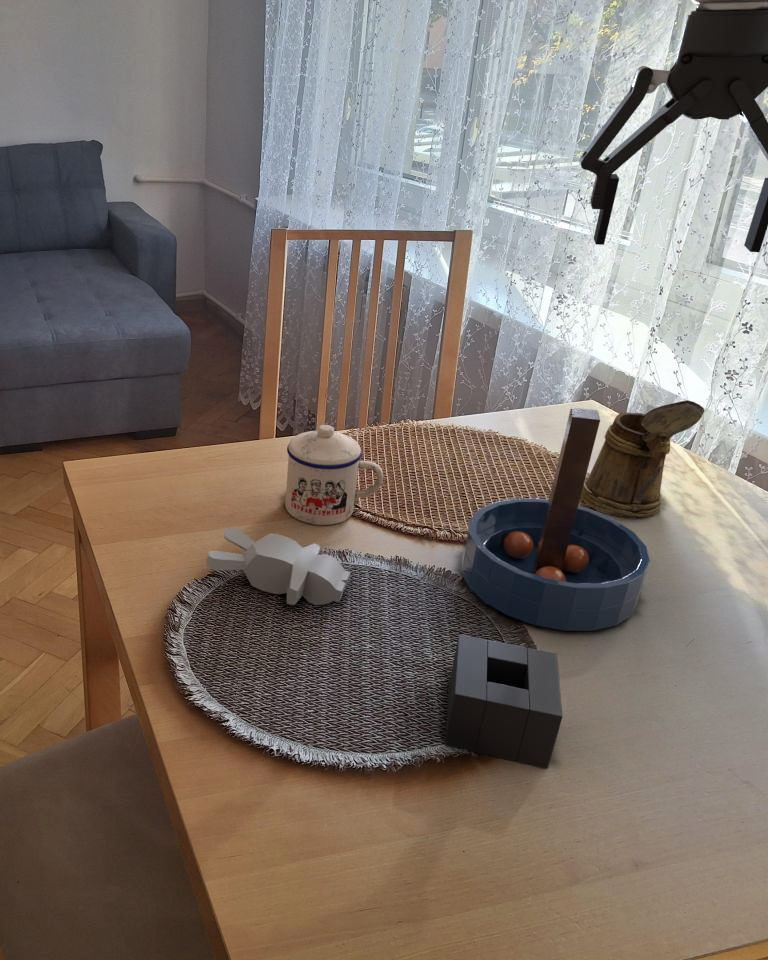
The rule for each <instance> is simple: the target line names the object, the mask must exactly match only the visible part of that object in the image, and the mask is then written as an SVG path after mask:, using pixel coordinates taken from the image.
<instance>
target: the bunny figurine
mask: <svg viewBox="0 0 768 960" xmlns="http://www.w3.org/2000/svg"><path fill="white" fill-rule="evenodd" d="M223 537H224V539H225V540H226V541H227V542H229V543H231V544H232V545H235V546H237V547H238V548H240V549H241V550H244V552H242V553H237V552H230V551H224V550H211V551H209V552H208V553H207V556H206V561H205V566H206V568H208V569H209V570H213V571H243V572H244V574H245V576H246V579H247V580H248V581H249V584H250V586H252V587H254V588H256V589H258V590H260V591H263V592H266V593H269V594H274V595H282V594H286V604H287V605H291V606H292V605H293V606H295V605H296V604H297V603H298V601H300V599H301V598H302V597H303V598H304V599H305V600H306V601H307V603H309V604H312V605H315V606H324V605H326V604H327V605H328V604H329V603H331V602H335V603H340V602H341V599H342V597H343V595H344V592H345V590H346V587H347V585H348V584H349V579H350V575H351V571H348V570H346V569H345V568H344V567H343V565H342V564H341V562H340V561H339V560H338V559H336V558H335V557H334V556H333V555H330V554H327V553H323V554H320V552H321V548H322V546H320V545H319V544H317V543H315V542H313V543H311V544H309V545H306V546H302V545H300V544H299V543H298V542H297V541H296V540H294V539H293V538H290V537H289V536H285V535H282V534H279V533H272V532H270V533H268V534H266V535H265V536H263V537H262V538H260V539H258V540H257V541H254V540H253V539H252V538H251V537H249V536H248V535H247V534H246V533H244V532H242V531H241V530H240V529H238V528H237V527H233V526H231V527H227V528H226V529H224V532H223Z"/></svg>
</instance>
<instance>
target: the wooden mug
mask: <svg viewBox="0 0 768 960" xmlns="http://www.w3.org/2000/svg"><path fill="white" fill-rule="evenodd" d="M705 411H706V410H705V408H704V407H703V406H701V404H698V403H697V402H696V401H692V400H688V399H687V400H682V401H677V402H673V403H668V404H664V405H661V406H657V407H654V408H653V409H650V410H649V411H648V412H646V413H640V412H621V413H618V414H617V415H616V416H615V417H614V419H613V421H612V423H611V424H610V425H609V426H608V428H607V430H606V432H605V435H604V442H603V445H602V447H601V449H600V450H599V453H598V456H597V458H596V459H595V462H594V464H593V467H592V469H591V471H590V473H589V475H588V477H587V478H586V479H585V482H584V486H583V489H582V493H581V497H580V500H582V501H583V502H584V503H585V504H587V505H588V506H589V507H590V508H592V509H593V510H594V511H597V512H599V513H602V514H604V515H607V516H608V515H609V516H613V517H617V518H623V519H645V518H649V517H653V516H654V515H656V514H658V513H659V512H660V511H661V505H662V501H663V500H662V498H663V496H662V493H661V489H662V483H663V482H662V481H663V474H664V468H665V462H666V457H667V455H668V454H670V452H671V438H673V436H675V435H677V434H679V433H683V432H684V431H687V430H689V429H691V428H692V427H694V426H695V425H696V424H697V423H698V422H700V421H701V419H702V417H703V415H704V413H705Z"/></svg>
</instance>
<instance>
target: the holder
mask: <svg viewBox="0 0 768 960" xmlns="http://www.w3.org/2000/svg"><path fill="white" fill-rule="evenodd" d="M450 672H451V673H450V677H449V682H448V694H447V708H446V718H445V720H446V721H445V731H444V733H445V735H444V746H446V747H451V748H456V749H460V750H464V751H468V752H473V753H477V754H481V755H485V756H489V757H494V758H498V759H502V760H507V761H512V762H517V763H520V764H525V765H528V766H533V767H536V768H537V767H538V768H541V769H549V766H550V763H551V759H552V755H553V752H554V748H555V745H556V741H557V738H558V734H559V730H560V727H561V723H562V720H563V717H564V716H563V707H562V706H563V705H562V696H561V694H562V693H561V684H560V682H561V681H560V672H559V658H558V653H557V652H552V651H547V650H541V649H536V648H530V647H526V646H521V645H516V644H510V643H505V642H499V641H495V640H489V639H485V638H480V637H474V636H469V635H464V634H458V635H457V642H456V647H455V651H454V657H453V662H452V666H451V671H450Z"/></svg>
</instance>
